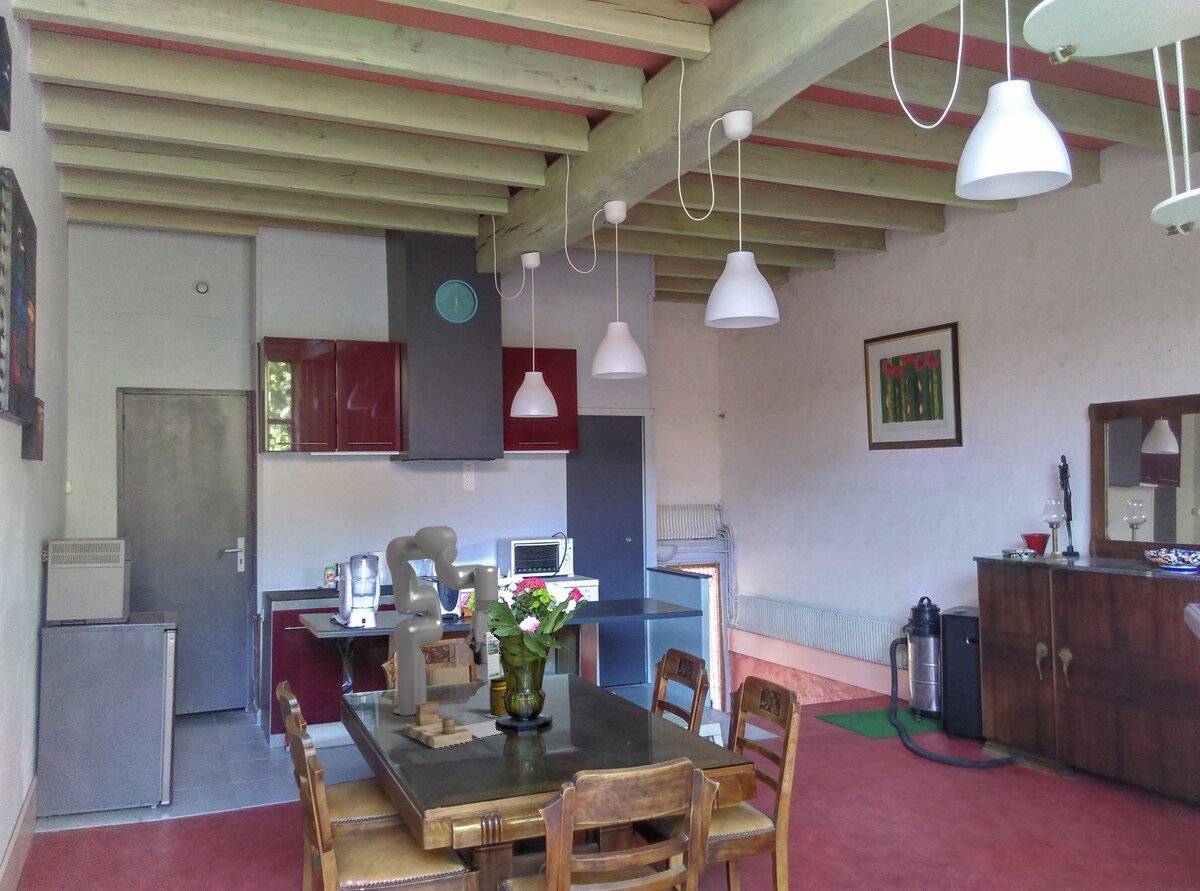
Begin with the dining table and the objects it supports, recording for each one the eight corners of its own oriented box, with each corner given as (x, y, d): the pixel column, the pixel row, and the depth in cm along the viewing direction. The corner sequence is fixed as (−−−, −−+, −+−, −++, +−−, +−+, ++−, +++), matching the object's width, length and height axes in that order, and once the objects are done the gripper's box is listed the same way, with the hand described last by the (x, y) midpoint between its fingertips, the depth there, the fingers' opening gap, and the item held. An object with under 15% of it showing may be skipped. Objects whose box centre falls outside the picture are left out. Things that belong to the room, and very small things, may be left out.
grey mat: (455, 729, 295) (455, 727, 295) (501, 721, 304) (501, 719, 304) (478, 738, 281) (478, 736, 281) (525, 730, 290) (524, 728, 290)
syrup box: (488, 680, 289) (487, 632, 290) (475, 678, 293) (474, 631, 294) (502, 677, 293) (500, 630, 294) (489, 675, 297) (488, 629, 298)
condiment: (513, 715, 312) (512, 678, 313) (490, 719, 307) (489, 681, 308) (503, 711, 318) (502, 675, 319) (480, 715, 313) (479, 678, 314)
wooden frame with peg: (405, 734, 290) (404, 705, 290) (441, 728, 296) (440, 699, 297) (434, 748, 271) (433, 717, 272) (471, 741, 278) (471, 711, 279)
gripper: (505, 602, 303) (507, 658, 302) (456, 607, 293) (457, 665, 292) (516, 603, 296) (518, 661, 295) (466, 609, 287) (468, 668, 286)
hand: (488, 662), depth 294 cm, fingers closed on syrup box, 6 cm apart
